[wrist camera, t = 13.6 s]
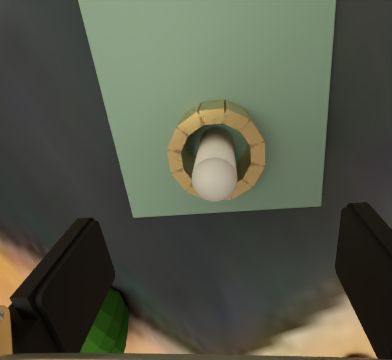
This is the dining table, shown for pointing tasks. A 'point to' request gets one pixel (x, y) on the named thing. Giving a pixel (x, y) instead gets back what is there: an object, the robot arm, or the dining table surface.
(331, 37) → the post board
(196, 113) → the brass ring
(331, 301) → the dining table surface
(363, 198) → the dining table surface
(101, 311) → the bell pepper
